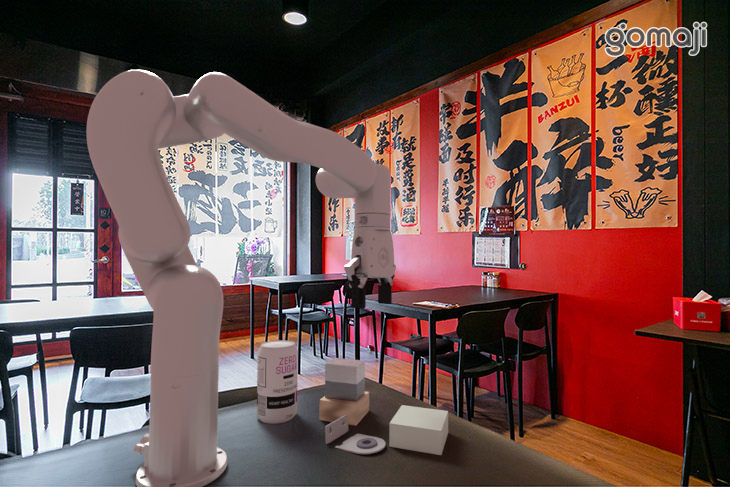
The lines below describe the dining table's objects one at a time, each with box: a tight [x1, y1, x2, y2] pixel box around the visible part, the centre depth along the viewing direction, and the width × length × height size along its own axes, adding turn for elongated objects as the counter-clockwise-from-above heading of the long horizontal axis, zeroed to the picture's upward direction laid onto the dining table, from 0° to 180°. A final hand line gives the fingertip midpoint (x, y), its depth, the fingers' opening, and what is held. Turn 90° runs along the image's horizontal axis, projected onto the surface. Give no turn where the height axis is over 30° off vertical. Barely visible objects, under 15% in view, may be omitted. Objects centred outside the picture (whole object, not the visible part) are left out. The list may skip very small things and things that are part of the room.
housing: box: [324, 357, 366, 402], centre depth 81 cm, size 7×5×7 cm
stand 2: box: [388, 404, 449, 456], centre depth 70 cm, size 9×9×4 cm
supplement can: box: [256, 339, 299, 425], centre depth 80 cm, size 8×8×15 cm
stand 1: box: [318, 390, 370, 426], centre depth 81 cm, size 8×8×4 cm
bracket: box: [324, 415, 386, 455], centre depth 68 cm, size 7×10×4 cm, turn 57°
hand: (372, 305), depth 80 cm, fingers open, 9 cm apart
